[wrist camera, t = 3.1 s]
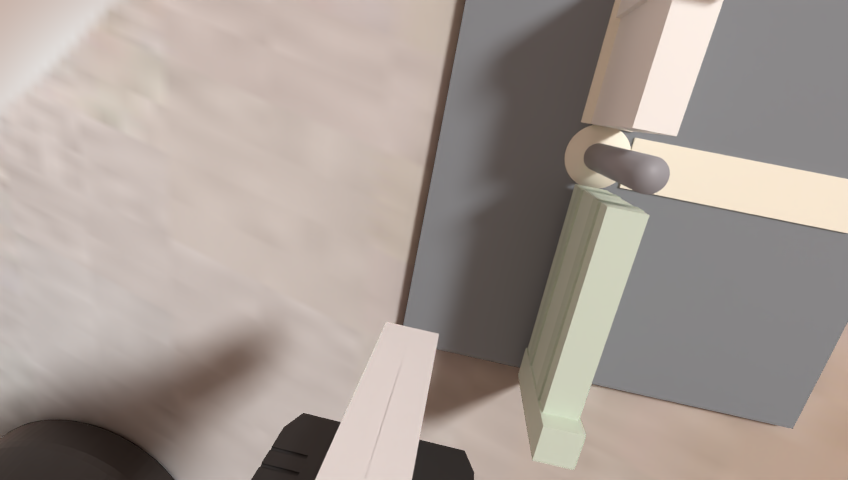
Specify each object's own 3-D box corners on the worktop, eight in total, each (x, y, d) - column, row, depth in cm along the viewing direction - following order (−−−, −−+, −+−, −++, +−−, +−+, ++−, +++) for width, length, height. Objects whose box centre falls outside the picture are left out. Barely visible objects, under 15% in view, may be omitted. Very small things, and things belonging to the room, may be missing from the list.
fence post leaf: (570, 164, 20) (614, 188, 14) (624, -28, 18) (706, -104, 12) (610, 172, 20) (671, 200, 14) (669, -20, 18) (775, -92, 12)
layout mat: (401, 336, 24) (399, 342, 23) (486, -102, 18) (486, -109, 17) (786, 421, 23) (794, 430, 22) (1006, -14, 17) (1025, -18, 16)
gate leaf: (572, 183, 20) (611, 211, 14) (608, 190, 20) (662, 221, 14) (517, 374, 23) (532, 460, 17) (549, 382, 22) (573, 470, 17)
